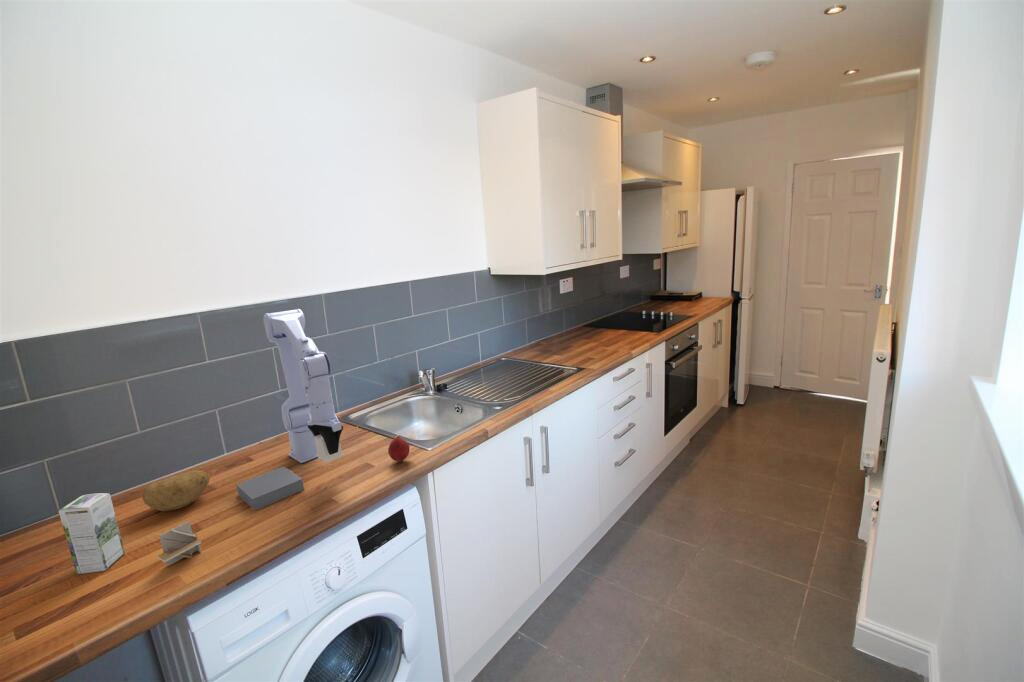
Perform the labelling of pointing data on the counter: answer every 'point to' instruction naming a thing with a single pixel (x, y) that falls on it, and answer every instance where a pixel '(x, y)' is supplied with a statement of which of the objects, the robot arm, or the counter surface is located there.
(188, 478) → the potato
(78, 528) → the syrup box
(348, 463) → the counter surface
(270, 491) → the riser block
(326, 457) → the cream block
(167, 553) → the architectural model
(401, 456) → the onion
